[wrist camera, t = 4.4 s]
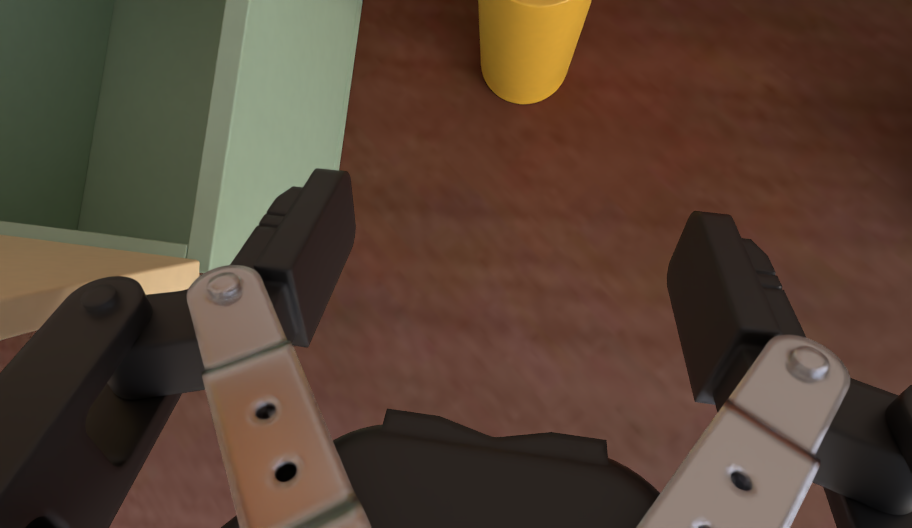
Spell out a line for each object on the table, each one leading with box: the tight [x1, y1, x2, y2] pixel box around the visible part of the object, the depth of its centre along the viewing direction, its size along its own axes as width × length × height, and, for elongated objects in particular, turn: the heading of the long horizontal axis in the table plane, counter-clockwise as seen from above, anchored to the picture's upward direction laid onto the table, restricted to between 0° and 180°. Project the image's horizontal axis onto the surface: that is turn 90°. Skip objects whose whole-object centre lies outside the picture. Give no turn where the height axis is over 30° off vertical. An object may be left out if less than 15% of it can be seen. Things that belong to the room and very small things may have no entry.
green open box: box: [0, 0, 363, 273], centre depth 22 cm, size 17×14×11 cm
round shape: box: [478, 0, 592, 104], centre depth 22 cm, size 4×4×9 cm
